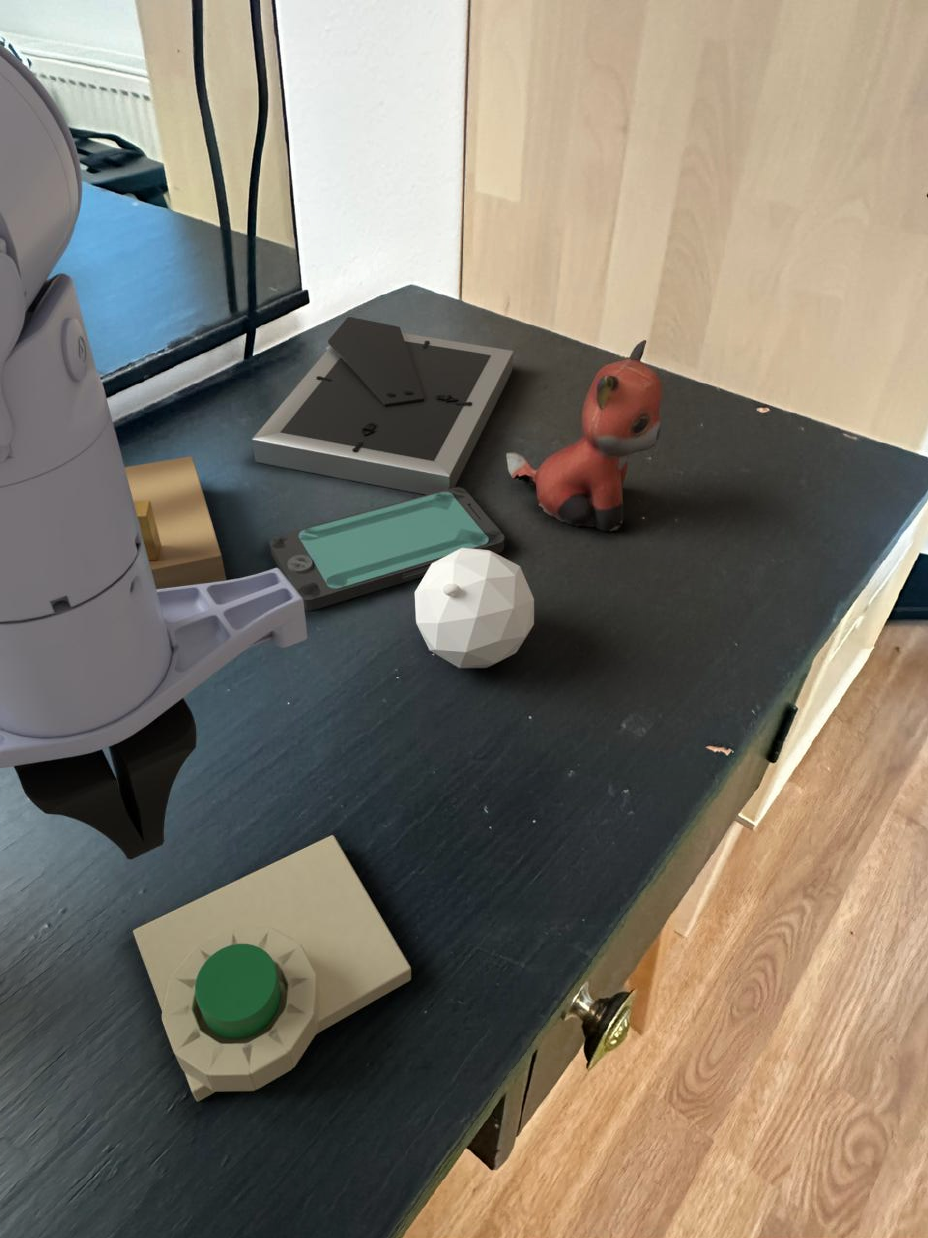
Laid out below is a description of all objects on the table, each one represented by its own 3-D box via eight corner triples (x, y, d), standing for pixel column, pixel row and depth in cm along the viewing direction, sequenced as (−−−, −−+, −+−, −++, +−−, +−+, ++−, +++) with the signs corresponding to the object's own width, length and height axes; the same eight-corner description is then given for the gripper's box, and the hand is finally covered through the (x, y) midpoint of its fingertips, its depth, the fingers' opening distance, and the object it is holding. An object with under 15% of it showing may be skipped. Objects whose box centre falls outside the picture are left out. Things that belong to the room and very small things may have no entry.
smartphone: (266, 535, 61) (461, 482, 66) (268, 549, 62) (461, 496, 67) (302, 601, 57) (509, 539, 62) (304, 616, 57) (508, 553, 63)
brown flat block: (228, 590, 59) (221, 555, 57) (101, 617, 57) (89, 581, 54) (199, 489, 67) (192, 455, 65) (86, 509, 65) (75, 474, 62)
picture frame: (349, 345, 84) (255, 462, 70) (348, 316, 82) (250, 430, 68) (511, 372, 82) (448, 499, 67) (514, 342, 80) (449, 467, 65)
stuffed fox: (517, 454, 72) (530, 311, 64) (653, 490, 69) (686, 344, 61) (483, 505, 67) (492, 356, 58) (628, 545, 64) (660, 395, 56)
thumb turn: (161, 544, 57) (149, 496, 55) (158, 560, 56) (145, 512, 54) (88, 547, 57) (73, 499, 54) (84, 563, 56) (67, 515, 53)
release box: (206, 1133, 36) (193, 1107, 33) (136, 942, 41) (121, 910, 39) (425, 1004, 40) (426, 973, 38) (334, 847, 45) (330, 812, 43)
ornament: (554, 670, 54) (516, 639, 47) (442, 685, 57) (389, 657, 50) (546, 562, 57) (507, 517, 49) (437, 580, 59) (386, 540, 52)
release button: (218, 1055, 35) (211, 1038, 34) (191, 986, 37) (183, 967, 36) (293, 1013, 36) (289, 995, 35) (263, 949, 38) (258, 929, 37)
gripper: (224, 414, 30) (269, 689, 39) (-296, 560, 23) (-95, 845, 33) (324, 526, 26) (347, 803, 35) (-276, 738, 19) (-52, 1006, 29)
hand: (137, 832), depth 34 cm, fingers closed
